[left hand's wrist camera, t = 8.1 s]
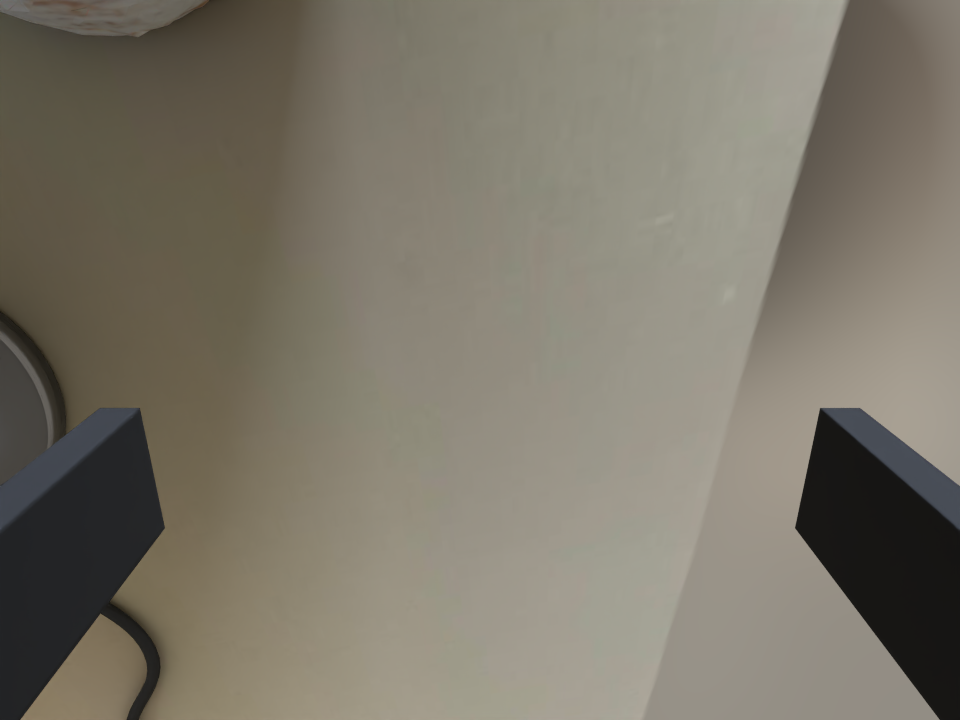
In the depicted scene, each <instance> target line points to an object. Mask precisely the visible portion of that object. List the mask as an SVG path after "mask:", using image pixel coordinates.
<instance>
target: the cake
mask: <svg viewBox="0 0 960 720" xmlns="http://www.w3.org/2000/svg"><path fill="white" fill-rule="evenodd" d="M208 1H209V0H0V12H3V13H5V14H8V15H11V16H14V17H17V18H20V19H23V20H25V21H28V22H31V23H35V24H39V25H44V26H48V27H53V28H57V29H61V30H65V31H69V32H73V33H77V34H80V35H98V36H124V35H129V36H135V37H140V36H142V35H143V34H145V33H147V32H148V31H150V30H153V29H157V28H160V27H164V26H168V25H170V24H171V23H172V22H173V21H174V20H178V19H180V18H181V17H183V16H185V15H186V14H188V13H190V12H191V11H193V10H195V9H198V8H201V7H203V6H204V5H205V4H206V3H207V2H208Z"/></svg>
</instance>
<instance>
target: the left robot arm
mask: <svg viewBox="0 0 960 720" xmlns="http://www.w3.org/2000/svg"><path fill="white" fill-rule="evenodd" d="M65 430H66V415H65V407H64V402H63V398H62V394H61V391H60V388H59V385H58V382H57V380H56V378H55V376H54V374H53V372H52V370H51V368H50V366H49V364H48V363H47V361H46V359H45V358H44V356H43V355H42V354H41V352H40V351H39V349H38V348H37V347H36V346H35V344H34V343H33V342H32V341H31V339H30V338H29V337H28V336H27V335H26V334H25V333H24V332H23V331H22V330H21V329H20V328H19V327H18V326H17V325H16V324H15V323H13V322H12V321H11V320H10V319H9V318H7V317H6V316H5V315H4V314H2V313H1V312H0V720H20V719H21V718H22V717H23V715H24V714H25V713H26V711H27V710H28V709H29V707H30V706H31V705H32V703H33V702H34V701H35V699H36V698H37V697H38V695H39V694H40V693H41V691H42V690H43V689H44V687H45V686H46V685H47V683H48V682H49V681H50V680H51V678H52V677H53V676H54V674H55V673H56V672H57V670H58V669H59V668H60V666H61V665H62V664H63V662H64V661H65V660H66V658H67V657H68V656H69V654H70V653H71V652H72V650H73V649H74V648H75V646H76V645H77V644H78V642H79V641H80V640H81V638H82V637H83V636H84V635H85V633H86V632H87V631H88V629H89V628H90V627H91V625H92V624H93V623H94V621H95V620H96V619H97V617H98V616H99V615H100V613H101V614H102V615H104V616H106V617H107V618H109V619H110V620H112V621H113V622H115V623H116V624H117V625H119V626H120V627H121V628H123V629H124V630H125V631H126V632H127V633H128V634H129V635H130V636H131V637H132V638H133V639H134V640H135V641H136V643H137V644H138V645H139V647H140V648H141V650H142V652H143V654H144V657H145V659H146V662H147V677H146V681H145V683H144V685H143V687H142V689H141V691H140V693H139V695H138V696H137V698H136V700H135V702H134V703H133V705H132V707H131V709H130V711H129V714H128V717H127V720H139V717H140V715H141V713H142V711H143V709H144V707H145V705H146V704H147V702H148V700H149V698H150V697H151V695H152V693H153V691H154V689H155V687H156V684H157V681H158V678H159V674H160V658H159V655H158V652H157V649H156V647H155V645H154V644H153V642H152V640H151V638H150V637H149V636H148V634H147V633H146V632H145V630H144V629H143V628H142V627H141V626H140V625H139V624H138V623H137V622H136V621H134V620H133V619H132V618H131V617H130V616H128V615H127V614H126V613H124V612H123V611H121V610H120V609H118V608H117V607H115V606H114V605H112V604H111V603H109V601H110V600H111V599H112V597H113V596H114V595H115V593H116V592H117V591H118V589H119V588H120V587H121V586H122V584H123V583H124V582H125V580H126V579H127V578H128V576H129V575H130V574H131V572H132V571H133V570H134V568H135V567H136V566H137V564H138V563H139V562H140V560H141V559H142V558H143V556H144V555H145V554H146V552H147V551H148V550H149V548H150V547H151V546H152V544H153V543H154V542H155V540H156V539H157V538H158V537H159V535H160V534H161V533H162V531H163V530H164V529H165V526H164V522H163V517H162V512H161V507H160V502H159V498H158V493H157V488H156V483H155V479H154V474H153V469H152V464H151V459H150V455H149V450H148V445H147V440H146V436H145V431H144V426H143V421H142V416H141V412H140V408H100V409H98V410H97V411H96V412H94V413H93V414H92V415H91V416H89V417H88V418H87V419H86V420H84V421H83V422H82V423H80V424H79V425H78V426H77V427H75V428H74V429H73V430H71V431H70V432H69V433H68V434H66V435H65ZM795 529H796V530H797V531H798V533H799V534H800V535H801V536H802V538H803V539H804V540H805V542H806V543H807V544H808V546H809V547H810V548H811V550H812V551H813V552H814V554H815V555H816V556H817V558H818V559H819V560H820V562H821V563H822V564H823V566H824V567H825V568H826V570H827V571H828V572H829V574H830V575H831V576H832V578H833V579H834V580H835V582H836V583H837V584H838V585H839V587H840V588H841V589H842V591H843V592H844V593H845V595H846V596H847V597H848V599H849V600H850V601H851V603H852V604H853V605H854V607H855V608H856V609H857V611H858V612H859V613H860V615H861V616H862V617H863V619H864V620H865V621H866V623H867V624H868V625H869V627H870V628H871V629H872V631H873V632H874V633H875V635H876V636H877V637H878V638H879V640H880V641H881V642H882V644H883V645H884V646H885V648H886V649H887V650H888V652H889V653H890V654H891V656H892V657H893V658H894V660H895V661H896V662H897V664H898V665H899V666H900V668H901V669H902V670H903V672H904V673H905V674H906V676H907V677H908V678H909V680H910V681H911V682H912V683H913V685H914V686H915V687H916V689H917V690H918V691H919V693H920V694H921V695H922V697H923V698H924V699H925V701H926V702H927V703H928V705H929V706H930V707H931V709H932V710H933V711H934V713H935V714H936V715H937V717H938V718H939V719H940V720H960V486H959V485H957V484H956V483H955V482H954V481H952V480H951V479H950V478H949V477H947V476H946V475H945V474H943V473H942V472H941V471H940V470H938V469H937V468H936V467H935V466H933V465H932V464H931V463H929V462H928V461H927V460H926V459H924V458H923V457H922V456H920V455H919V454H918V453H917V452H915V451H914V450H913V449H912V448H910V447H909V446H908V445H906V444H905V443H904V442H903V441H901V440H900V439H899V438H897V437H896V436H895V435H894V434H892V433H891V432H890V431H888V430H887V429H886V428H885V427H883V426H882V425H881V424H880V423H878V422H877V421H876V420H874V419H873V418H872V417H871V416H869V415H868V414H867V413H866V412H864V411H863V410H862V409H860V408H820V412H819V416H818V421H817V426H816V431H815V436H814V441H813V445H812V450H811V455H810V460H809V464H808V469H807V474H806V479H805V484H804V488H803V493H802V498H801V502H800V507H799V512H798V517H797V522H796V526H795Z"/></svg>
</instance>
